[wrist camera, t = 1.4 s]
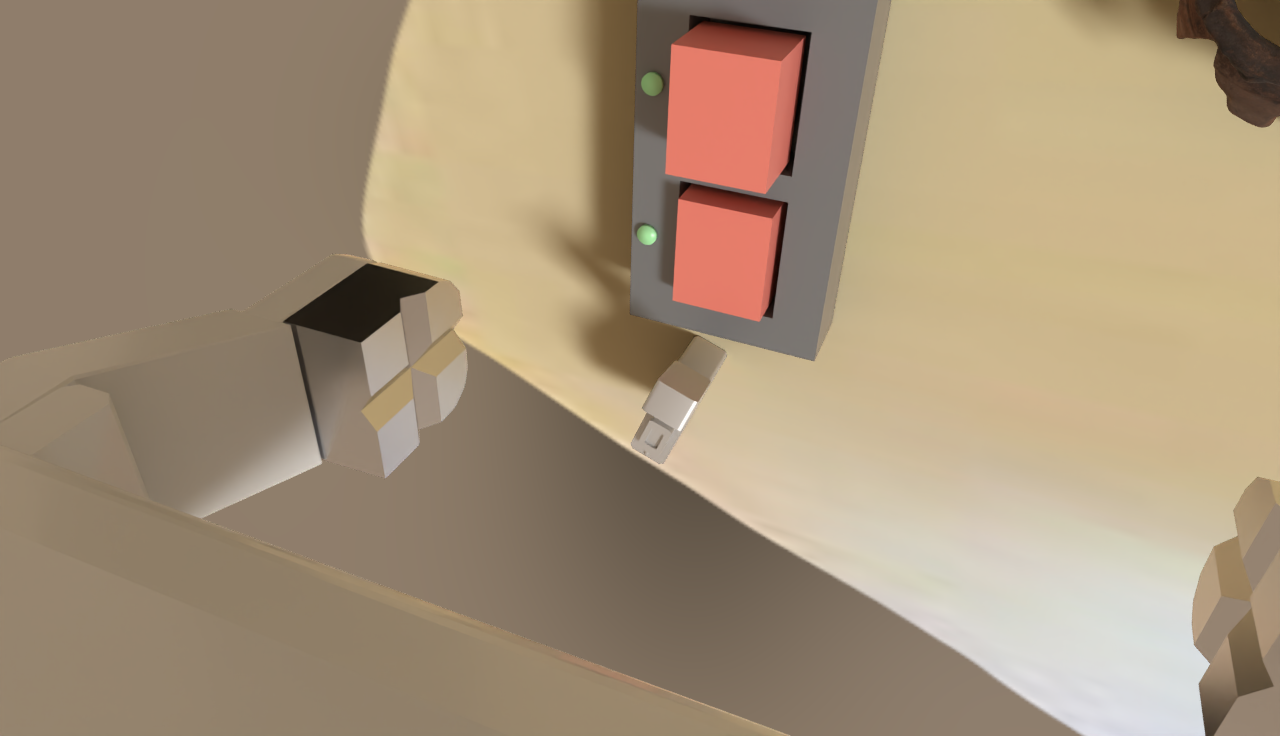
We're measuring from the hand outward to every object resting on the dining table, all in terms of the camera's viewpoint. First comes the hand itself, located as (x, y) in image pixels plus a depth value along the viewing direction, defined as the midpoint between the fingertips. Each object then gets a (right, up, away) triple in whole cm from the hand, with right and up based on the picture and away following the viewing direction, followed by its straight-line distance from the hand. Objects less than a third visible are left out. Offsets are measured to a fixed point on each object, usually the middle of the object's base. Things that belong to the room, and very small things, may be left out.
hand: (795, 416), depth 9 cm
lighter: (+2, +1, +32) cm, 32 cm away
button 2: (+2, +10, +22) cm, 24 cm away
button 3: (+3, +6, +27) cm, 28 cm away
